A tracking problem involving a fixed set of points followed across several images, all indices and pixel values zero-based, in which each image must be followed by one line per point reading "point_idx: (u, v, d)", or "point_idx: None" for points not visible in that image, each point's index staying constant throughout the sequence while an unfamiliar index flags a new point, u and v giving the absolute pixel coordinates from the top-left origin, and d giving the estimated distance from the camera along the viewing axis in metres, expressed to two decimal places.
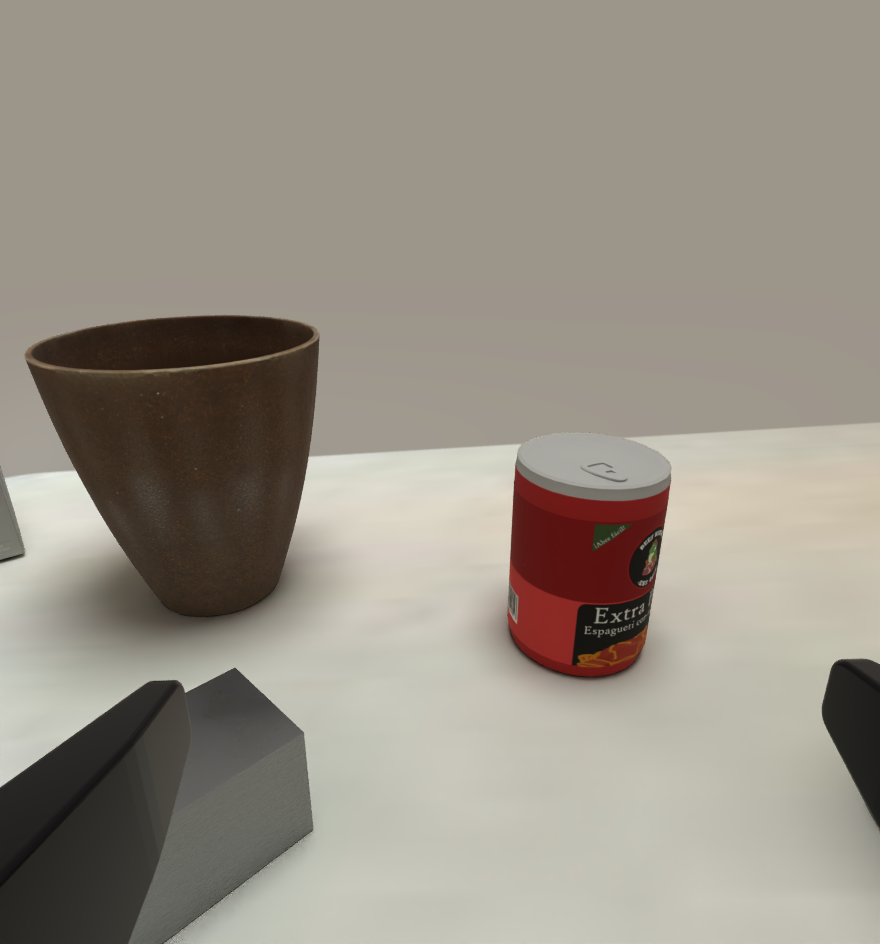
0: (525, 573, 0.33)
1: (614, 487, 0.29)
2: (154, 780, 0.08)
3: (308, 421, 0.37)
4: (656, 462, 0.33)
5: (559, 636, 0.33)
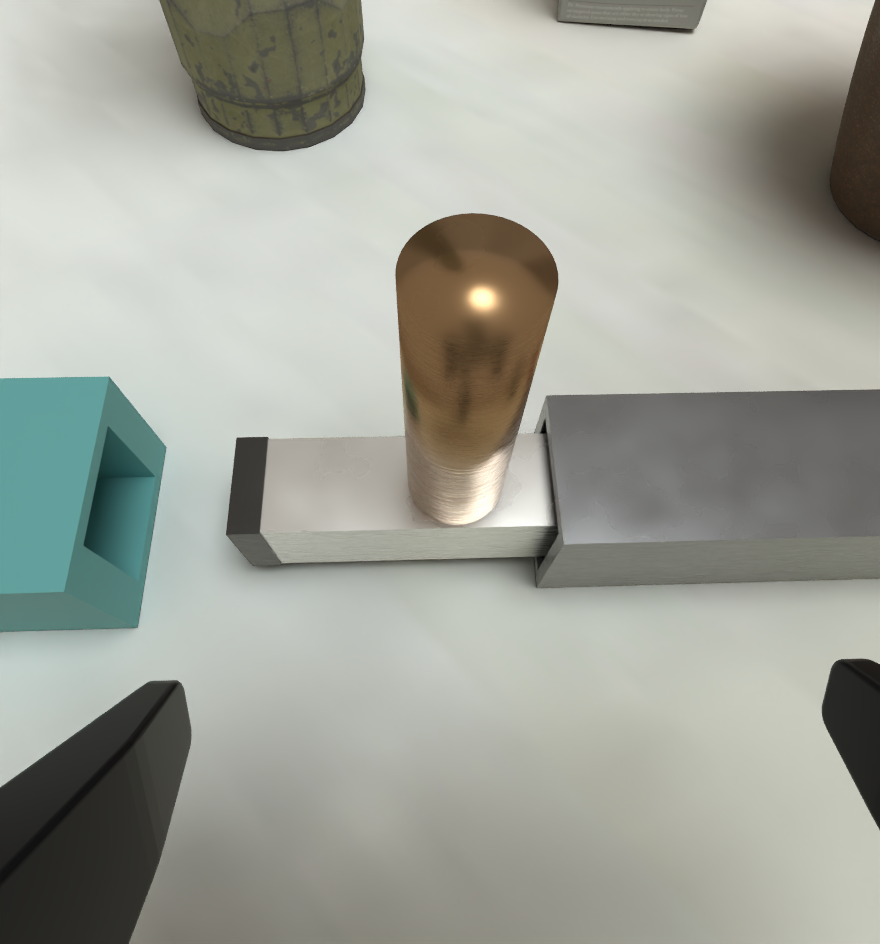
0: None
1: None
2: (154, 780, 0.08)
3: None
4: None
5: None
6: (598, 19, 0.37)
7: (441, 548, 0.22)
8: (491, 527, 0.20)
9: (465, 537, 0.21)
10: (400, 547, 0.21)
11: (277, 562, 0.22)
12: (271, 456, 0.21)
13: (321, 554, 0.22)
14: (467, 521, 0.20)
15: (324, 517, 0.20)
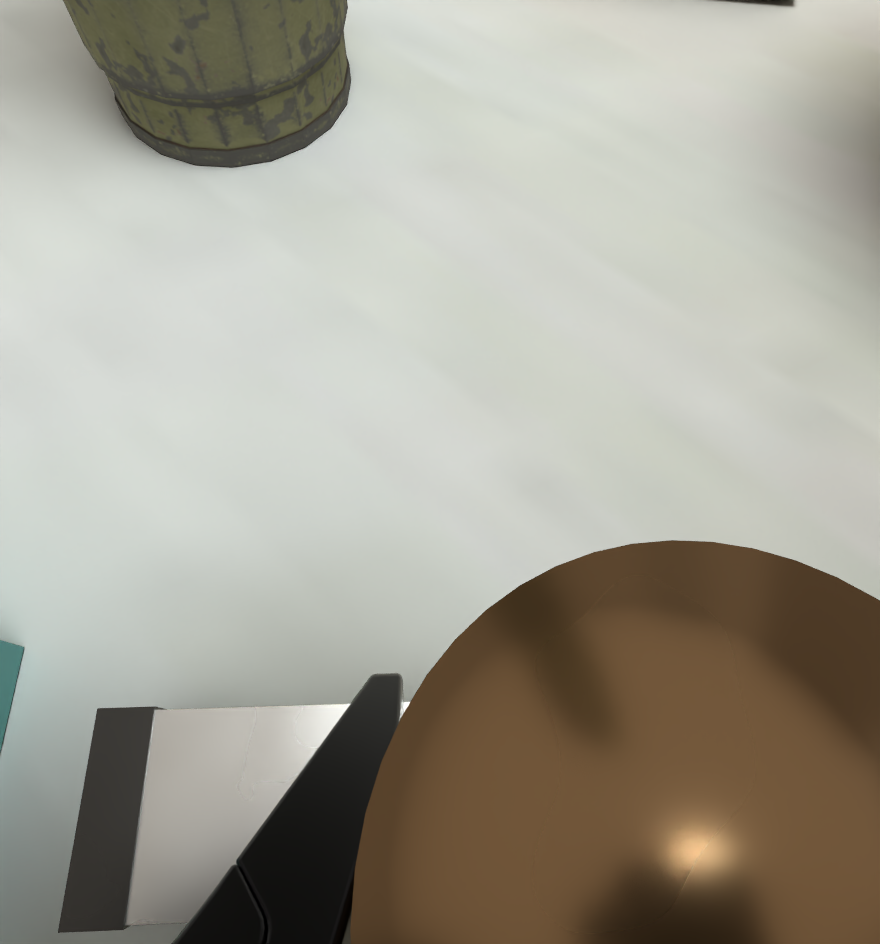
0: None
1: None
2: None
3: None
4: None
5: None
6: None
7: None
8: None
9: None
10: None
11: None
12: (158, 748, 0.11)
13: None
14: None
15: None
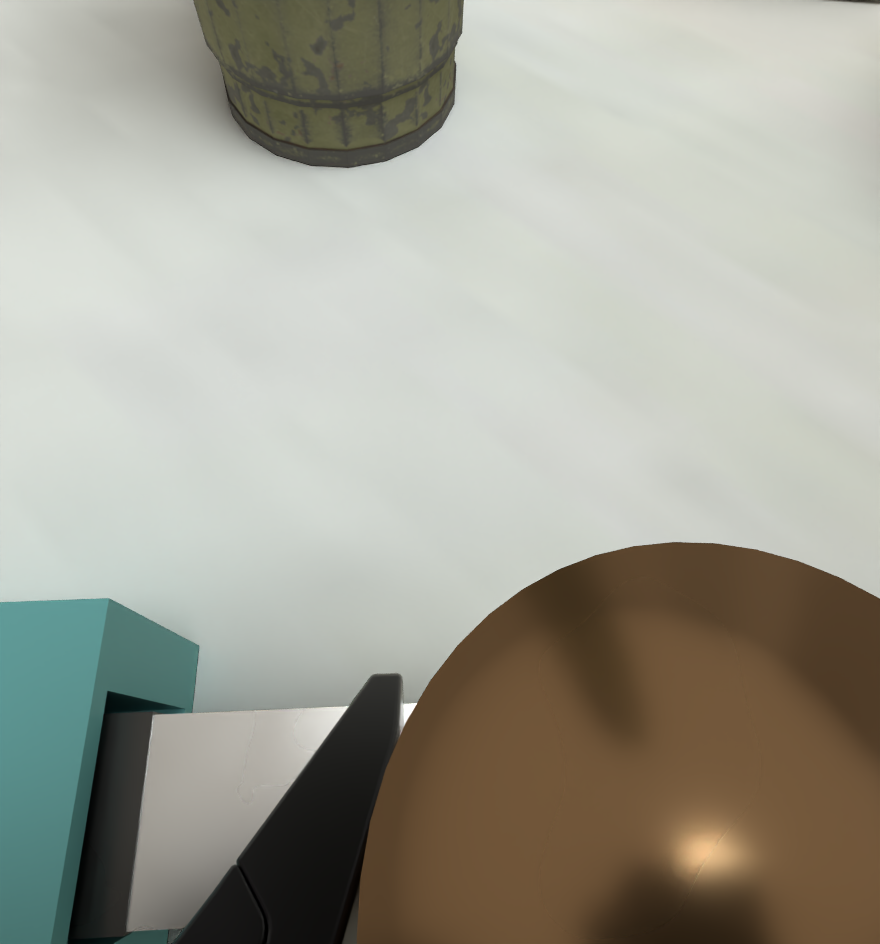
0: None
1: None
2: None
3: None
4: None
5: None
6: None
7: None
8: None
9: None
10: None
11: None
12: (157, 753, 0.11)
13: None
14: None
15: None
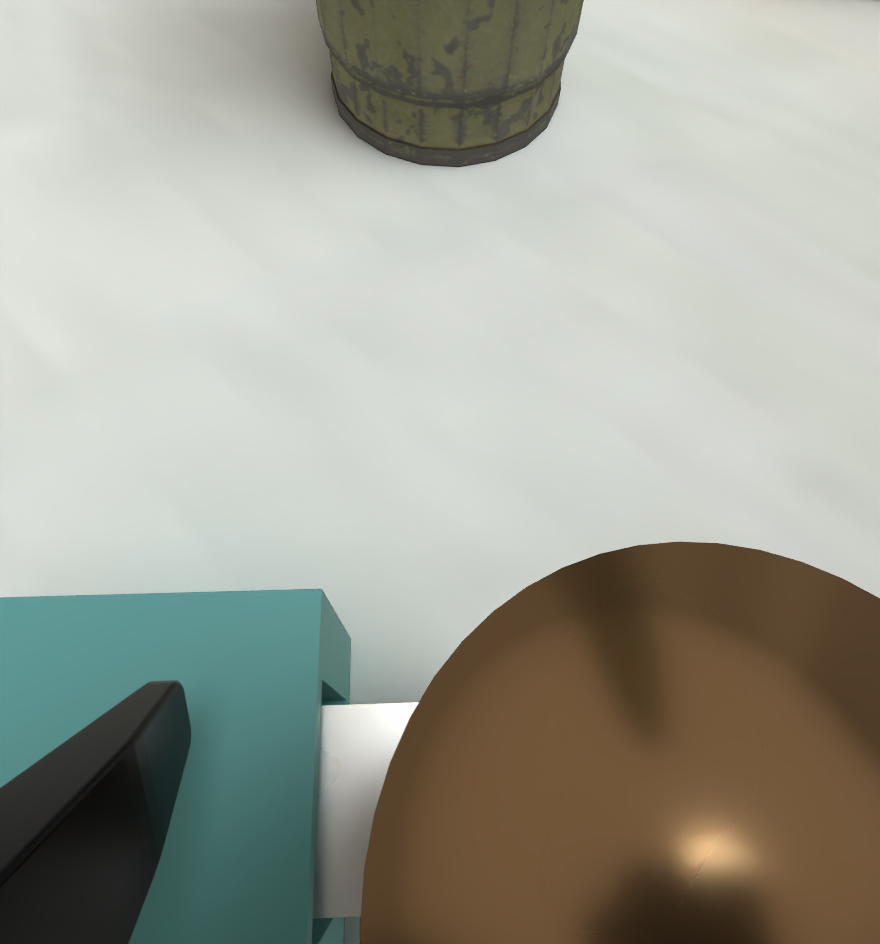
0: None
1: None
2: (154, 780, 0.08)
3: None
4: None
5: None
6: None
7: None
8: None
9: None
10: None
11: None
12: None
13: None
14: None
15: None
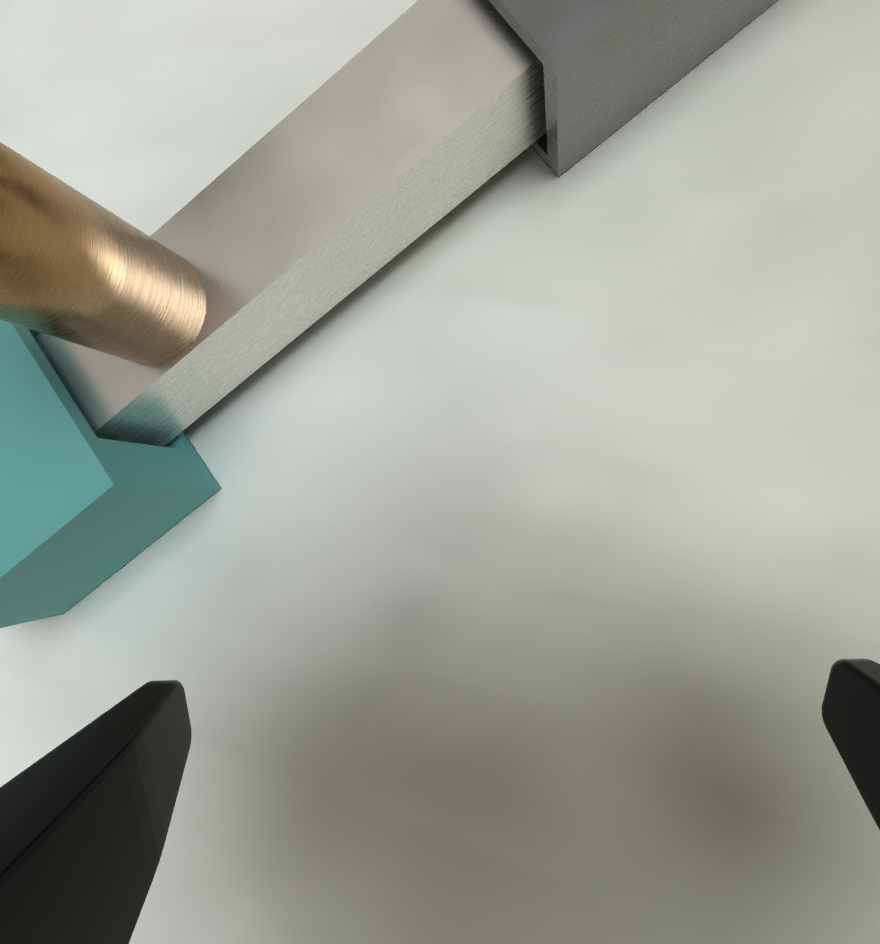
0: None
1: None
2: (154, 780, 0.08)
3: None
4: None
5: None
6: None
7: (214, 380, 0.19)
8: (217, 330, 0.16)
9: (214, 356, 0.17)
10: (174, 408, 0.18)
11: None
12: None
13: None
14: (191, 342, 0.17)
15: None
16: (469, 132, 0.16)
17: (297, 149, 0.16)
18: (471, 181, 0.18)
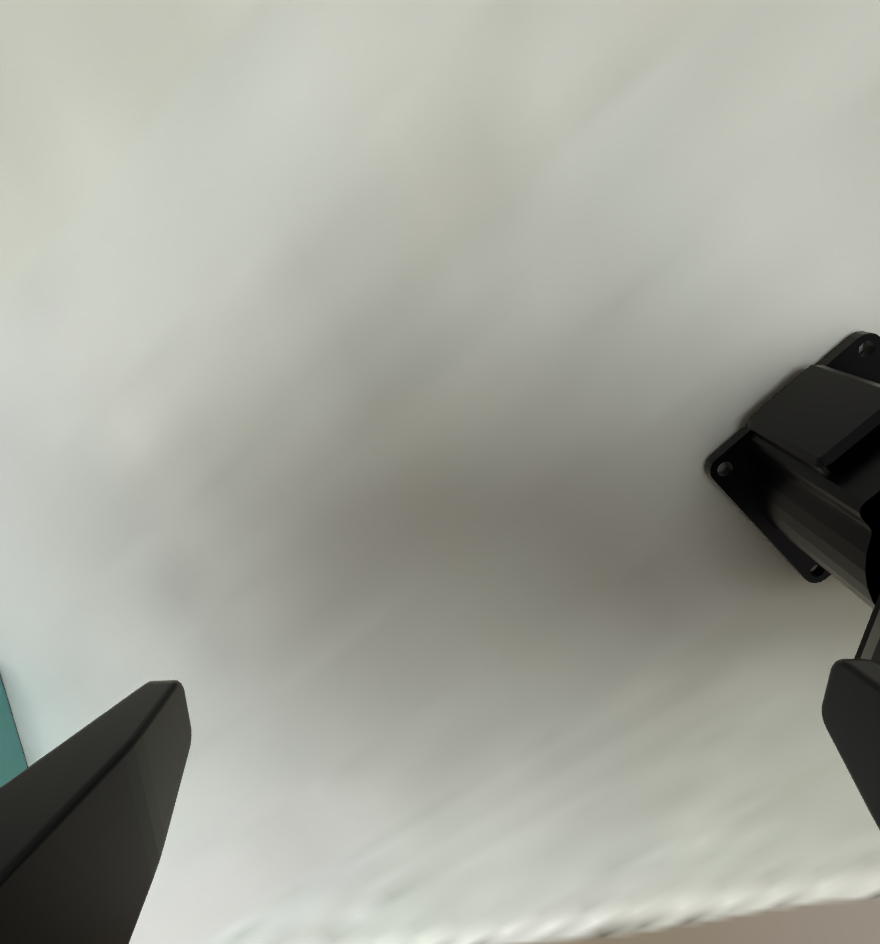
0: None
1: None
2: (154, 780, 0.08)
3: None
4: None
5: None
6: None
7: None
8: None
9: None
10: None
11: None
12: None
13: None
14: None
15: None
16: None
17: None
18: None
